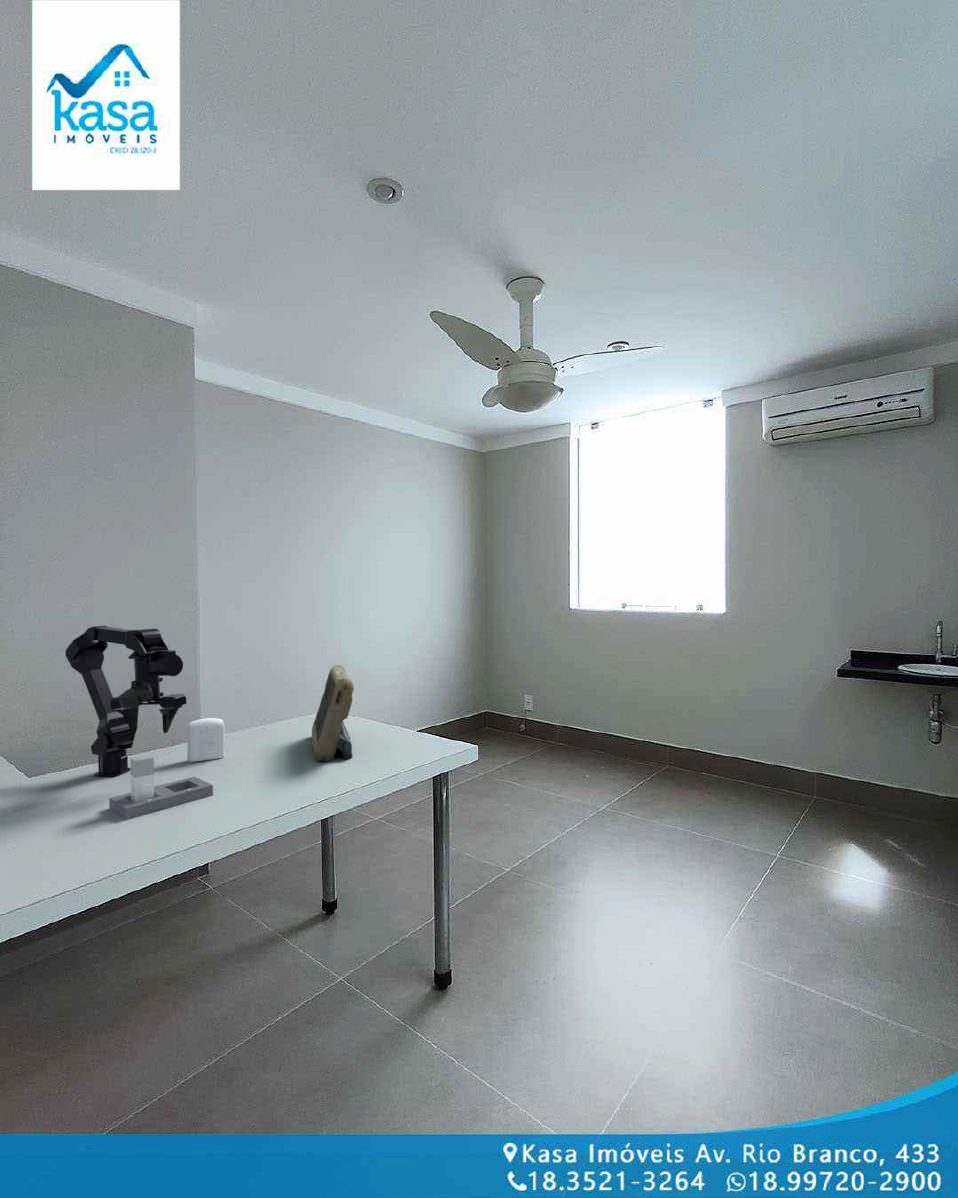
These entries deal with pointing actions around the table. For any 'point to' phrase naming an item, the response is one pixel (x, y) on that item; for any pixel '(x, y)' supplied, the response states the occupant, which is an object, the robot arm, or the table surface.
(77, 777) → the table surface
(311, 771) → the table surface
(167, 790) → the socket plate
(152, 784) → the plug
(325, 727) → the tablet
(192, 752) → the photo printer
